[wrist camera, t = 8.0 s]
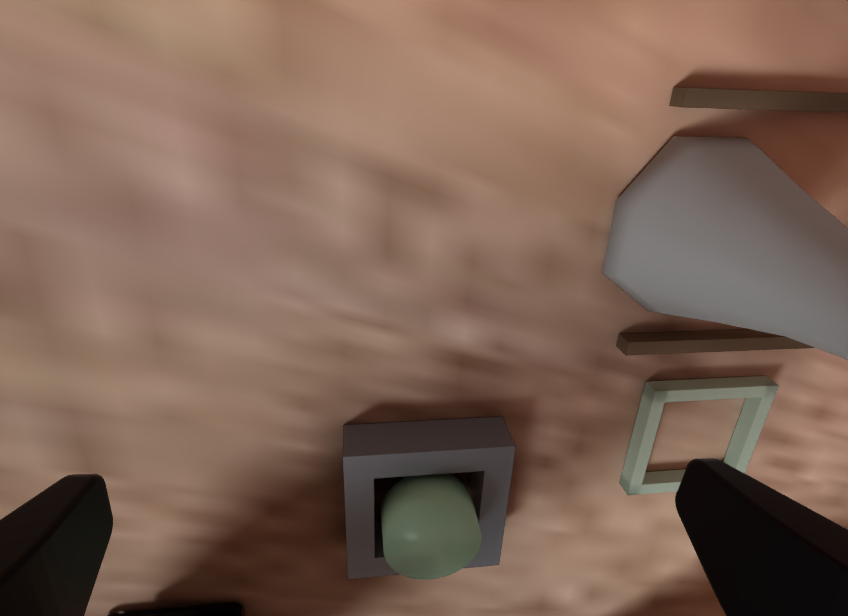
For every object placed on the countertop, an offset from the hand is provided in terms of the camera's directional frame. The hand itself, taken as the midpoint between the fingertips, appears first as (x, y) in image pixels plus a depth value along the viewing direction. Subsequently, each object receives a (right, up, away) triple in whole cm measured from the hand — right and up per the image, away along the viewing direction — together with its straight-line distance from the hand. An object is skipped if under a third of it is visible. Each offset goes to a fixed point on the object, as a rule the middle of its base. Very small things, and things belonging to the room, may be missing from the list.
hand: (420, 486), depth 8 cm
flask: (+10, +6, +12) cm, 17 cm away
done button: (0, -6, +14) cm, 16 cm away
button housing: (0, -5, +16) cm, 17 cm away
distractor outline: (+13, -3, +17) cm, 21 cm away
